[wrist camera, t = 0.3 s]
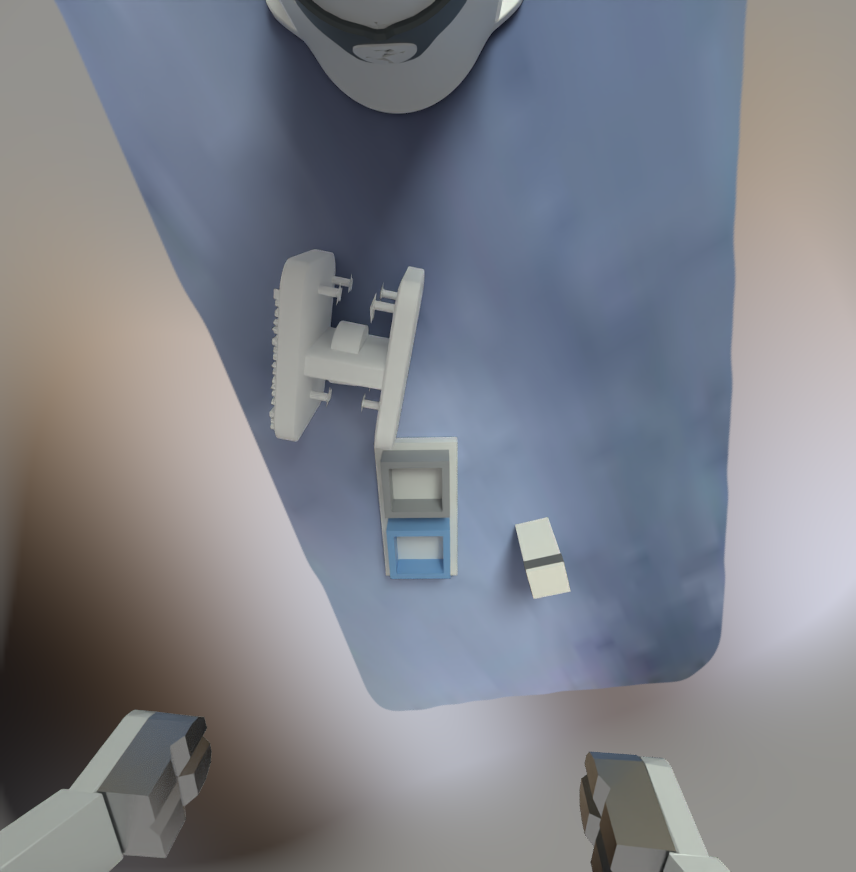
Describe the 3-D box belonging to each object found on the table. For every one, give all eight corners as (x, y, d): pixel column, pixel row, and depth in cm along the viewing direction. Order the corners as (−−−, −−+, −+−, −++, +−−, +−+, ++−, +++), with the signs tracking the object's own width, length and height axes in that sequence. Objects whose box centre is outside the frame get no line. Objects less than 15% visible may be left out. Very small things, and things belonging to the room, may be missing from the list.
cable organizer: (401, 412, 49) (390, 468, 38) (302, 394, 48) (264, 446, 38) (427, 266, 42) (423, 286, 32) (313, 243, 41) (270, 255, 31)
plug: (514, 524, 55) (525, 572, 48) (548, 516, 54) (564, 563, 47) (521, 549, 57) (533, 599, 50) (554, 542, 56) (570, 591, 49)
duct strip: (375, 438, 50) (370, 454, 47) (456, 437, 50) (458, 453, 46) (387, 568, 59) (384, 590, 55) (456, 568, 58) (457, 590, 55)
